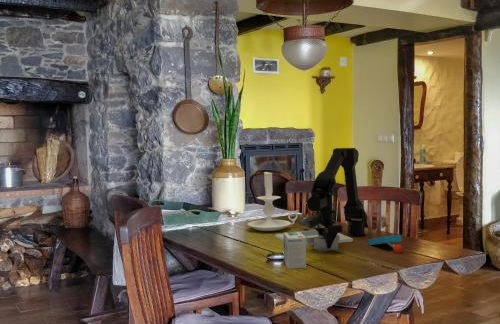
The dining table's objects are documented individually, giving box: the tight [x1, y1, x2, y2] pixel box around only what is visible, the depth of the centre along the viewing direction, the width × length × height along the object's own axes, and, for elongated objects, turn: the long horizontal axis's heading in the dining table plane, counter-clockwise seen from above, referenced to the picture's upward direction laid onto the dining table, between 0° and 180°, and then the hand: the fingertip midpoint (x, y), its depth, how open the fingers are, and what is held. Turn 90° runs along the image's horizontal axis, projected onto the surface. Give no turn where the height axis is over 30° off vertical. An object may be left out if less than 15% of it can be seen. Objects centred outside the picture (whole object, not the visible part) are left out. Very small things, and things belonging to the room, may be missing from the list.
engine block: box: [313, 234, 339, 253], centre depth 217 cm, size 8×5×6 cm, turn 108°
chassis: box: [274, 227, 354, 247], centre depth 237 cm, size 27×22×3 cm
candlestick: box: [247, 171, 299, 232], centre depth 261 cm, size 21×25×28 cm
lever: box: [367, 234, 403, 254], centre depth 216 cm, size 7×7×18 cm
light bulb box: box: [282, 231, 307, 270], centre depth 195 cm, size 11×7×11 cm, turn 5°
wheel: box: [298, 217, 307, 226], centre depth 244 cm, size 6×6×3 cm
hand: (326, 246), depth 217 cm, fingers closed on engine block, 5 cm apart
